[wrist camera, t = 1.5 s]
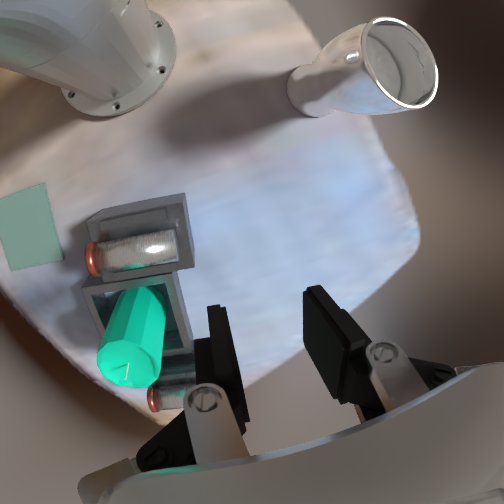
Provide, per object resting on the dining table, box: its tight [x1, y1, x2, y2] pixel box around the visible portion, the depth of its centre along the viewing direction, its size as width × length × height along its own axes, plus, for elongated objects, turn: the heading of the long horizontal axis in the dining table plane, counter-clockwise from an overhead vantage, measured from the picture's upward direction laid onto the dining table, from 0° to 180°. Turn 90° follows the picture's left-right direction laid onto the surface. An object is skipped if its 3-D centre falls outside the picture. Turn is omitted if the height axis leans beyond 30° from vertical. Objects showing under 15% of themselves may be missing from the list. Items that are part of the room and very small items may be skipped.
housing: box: [81, 193, 196, 389], centre depth 29 cm, size 24×13×6 cm, turn 6°
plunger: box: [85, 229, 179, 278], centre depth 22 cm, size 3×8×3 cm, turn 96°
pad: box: [0, 183, 64, 271], centre depth 25 cm, size 9×9×1 cm
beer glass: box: [287, 16, 438, 117], centre depth 19 cm, size 7×7×15 cm
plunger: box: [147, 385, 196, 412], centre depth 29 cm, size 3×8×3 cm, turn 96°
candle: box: [97, 286, 167, 387], centre depth 26 cm, size 6×6×12 cm
